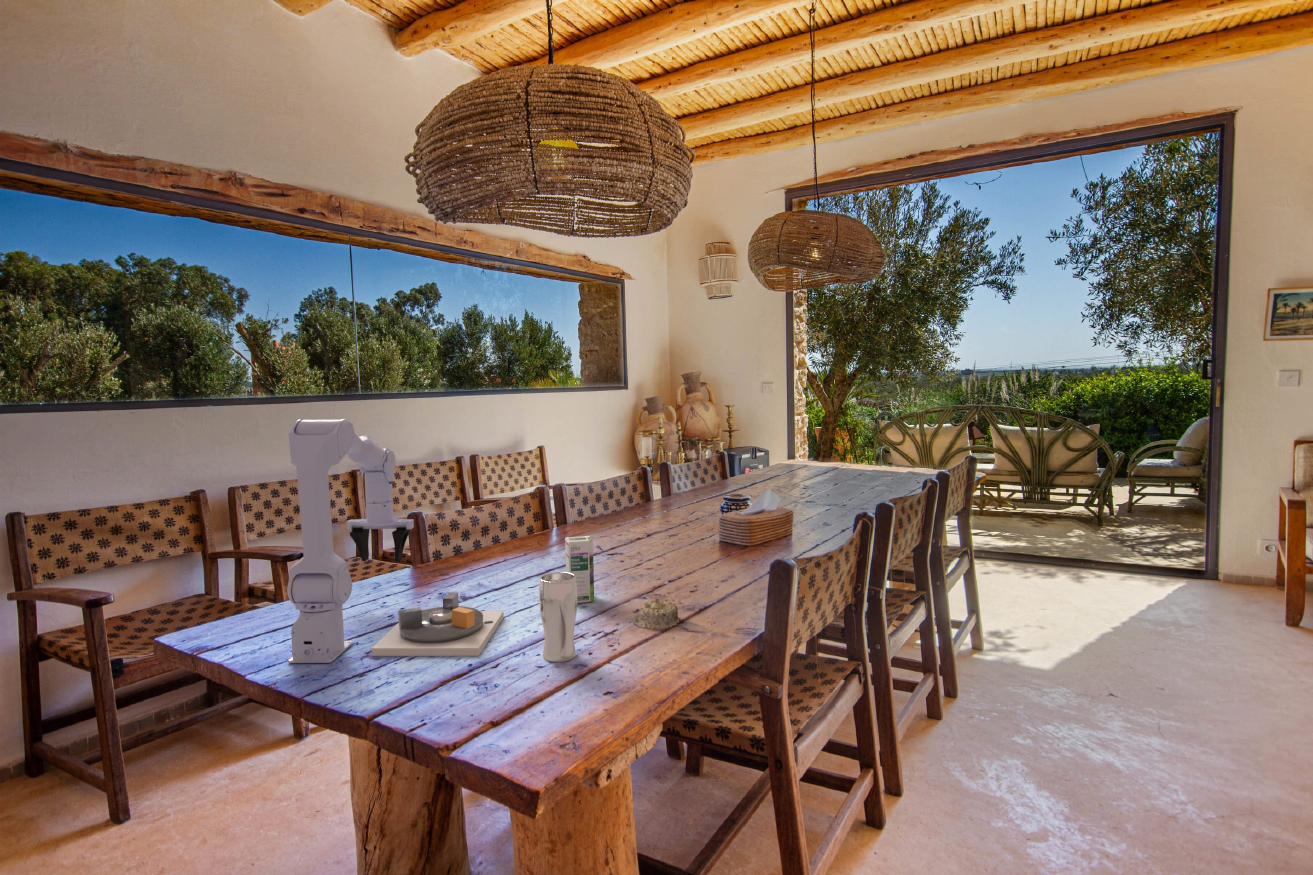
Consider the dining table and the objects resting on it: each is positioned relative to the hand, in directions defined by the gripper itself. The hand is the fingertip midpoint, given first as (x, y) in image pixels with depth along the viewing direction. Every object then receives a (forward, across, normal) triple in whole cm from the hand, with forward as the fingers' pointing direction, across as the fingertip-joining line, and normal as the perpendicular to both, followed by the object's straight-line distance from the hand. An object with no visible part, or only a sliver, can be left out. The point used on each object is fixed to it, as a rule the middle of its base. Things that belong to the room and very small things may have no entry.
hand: (382, 560), depth 158 cm
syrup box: (+10, -45, -2) cm, 46 cm away
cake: (+11, -63, +12) cm, 65 cm away
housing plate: (+10, -20, +20) cm, 30 cm away
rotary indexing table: (+8, -20, +20) cm, 29 cm away
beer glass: (+10, -45, +30) cm, 55 cm away
